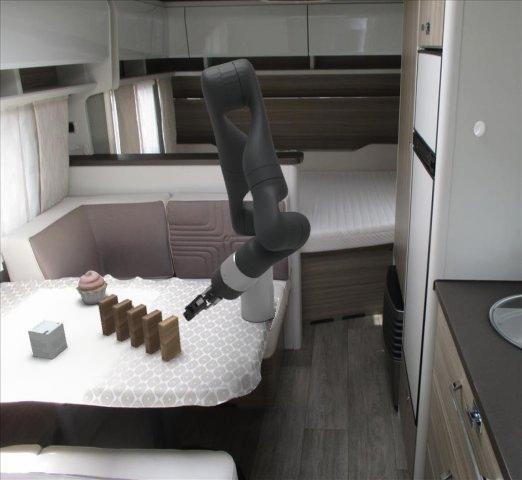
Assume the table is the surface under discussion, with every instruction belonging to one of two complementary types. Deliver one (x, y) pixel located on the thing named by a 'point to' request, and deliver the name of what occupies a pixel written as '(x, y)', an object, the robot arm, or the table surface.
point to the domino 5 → (169, 337)
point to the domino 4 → (152, 331)
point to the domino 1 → (107, 314)
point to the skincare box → (47, 339)
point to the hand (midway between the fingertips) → (199, 309)
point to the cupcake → (92, 287)
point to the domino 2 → (122, 319)
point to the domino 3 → (136, 325)
